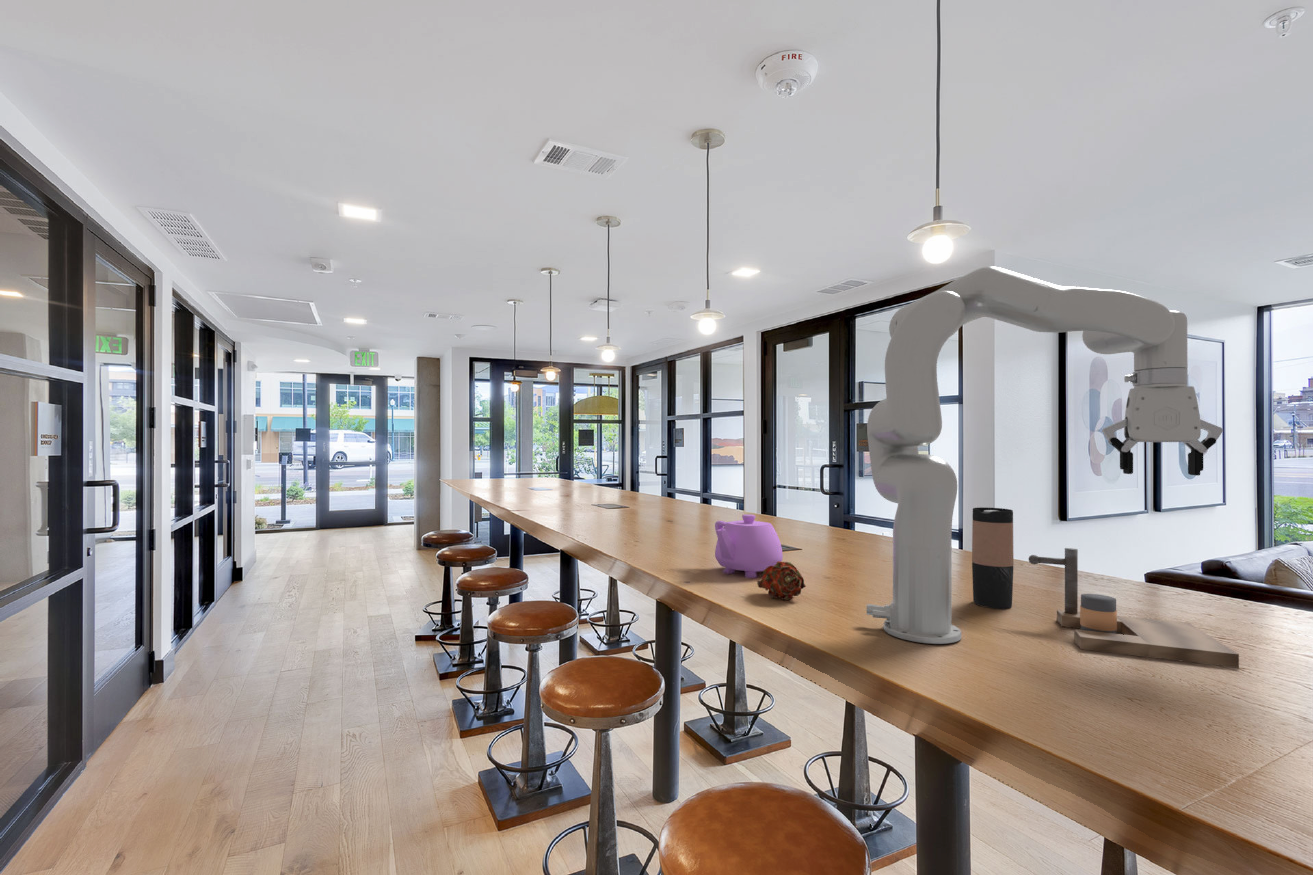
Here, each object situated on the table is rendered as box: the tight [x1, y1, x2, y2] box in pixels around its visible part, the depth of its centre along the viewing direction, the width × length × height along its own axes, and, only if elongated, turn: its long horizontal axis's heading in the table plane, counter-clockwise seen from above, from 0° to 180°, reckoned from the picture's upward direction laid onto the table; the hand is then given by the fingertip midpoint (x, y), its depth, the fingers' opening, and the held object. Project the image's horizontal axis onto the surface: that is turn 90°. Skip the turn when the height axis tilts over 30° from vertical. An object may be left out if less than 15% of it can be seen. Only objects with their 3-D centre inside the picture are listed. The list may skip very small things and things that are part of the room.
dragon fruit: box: [756, 561, 807, 601], centre depth 132 cm, size 8×8×12 cm
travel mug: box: [971, 506, 1015, 610], centre depth 127 cm, size 8×8×20 cm
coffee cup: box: [1079, 593, 1118, 634], centre depth 105 cm, size 5×5×7 cm
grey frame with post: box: [1028, 547, 1240, 669], centre depth 105 cm, size 25×18×14 cm
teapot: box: [714, 514, 784, 579], centre depth 157 cm, size 20×20×15 cm
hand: (1160, 474), depth 110 cm, fingers open, 9 cm apart
